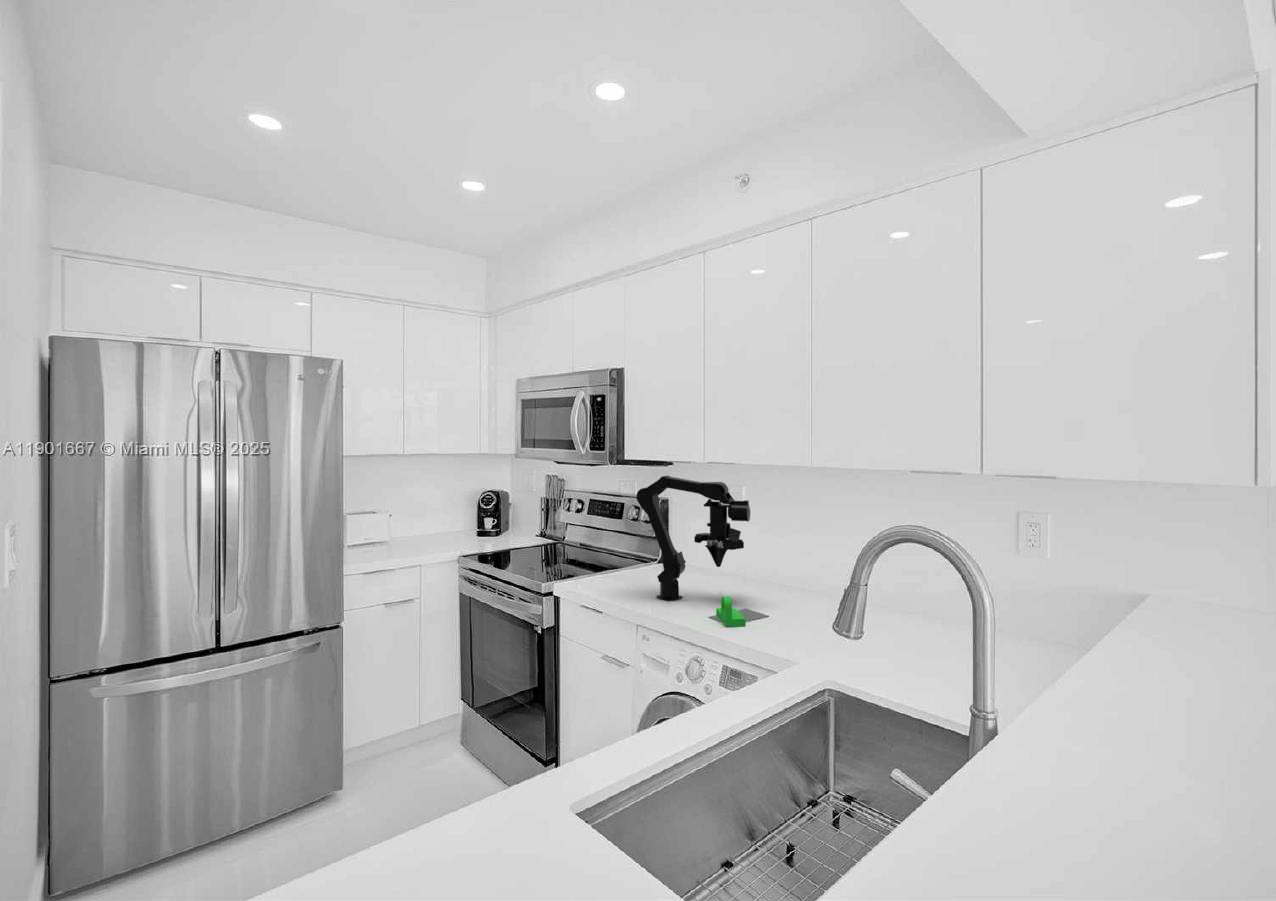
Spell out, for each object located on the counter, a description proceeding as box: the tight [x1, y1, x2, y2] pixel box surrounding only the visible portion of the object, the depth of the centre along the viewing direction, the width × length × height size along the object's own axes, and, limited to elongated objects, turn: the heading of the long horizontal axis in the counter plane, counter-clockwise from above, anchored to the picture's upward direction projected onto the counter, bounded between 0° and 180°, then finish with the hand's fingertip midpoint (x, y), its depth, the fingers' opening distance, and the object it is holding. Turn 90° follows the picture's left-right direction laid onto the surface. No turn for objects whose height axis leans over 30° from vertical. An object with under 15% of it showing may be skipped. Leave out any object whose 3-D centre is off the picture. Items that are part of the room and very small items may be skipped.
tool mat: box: [708, 608, 769, 624], centre depth 190 cm, size 10×16×1 cm, turn 124°
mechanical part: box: [715, 595, 746, 627], centre depth 187 cm, size 12×6×8 cm, turn 5°
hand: (718, 566), depth 207 cm, fingers closed
